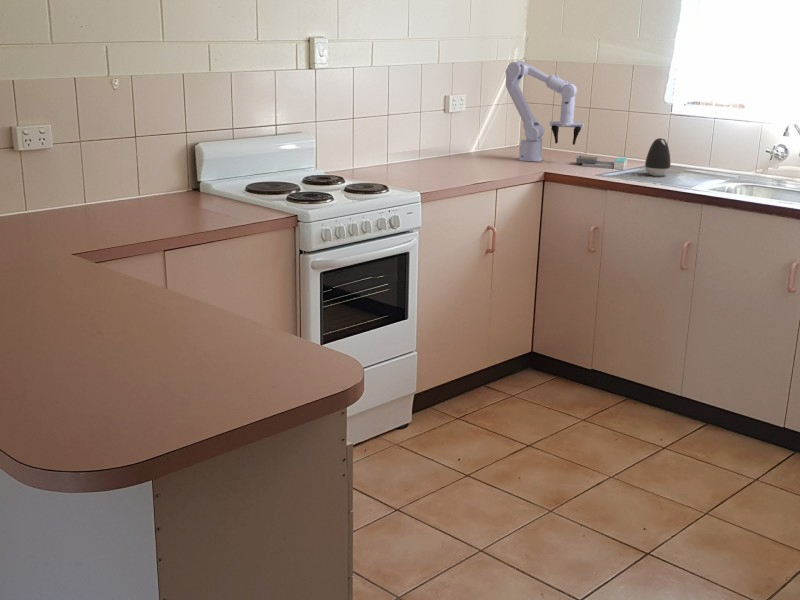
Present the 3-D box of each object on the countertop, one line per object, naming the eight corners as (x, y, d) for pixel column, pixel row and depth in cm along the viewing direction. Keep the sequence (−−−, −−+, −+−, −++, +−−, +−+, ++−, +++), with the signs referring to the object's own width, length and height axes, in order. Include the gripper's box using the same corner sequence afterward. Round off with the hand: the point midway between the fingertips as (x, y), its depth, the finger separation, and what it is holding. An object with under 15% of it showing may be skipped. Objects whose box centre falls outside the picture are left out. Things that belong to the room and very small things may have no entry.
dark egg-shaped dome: (672, 174, 386) (676, 138, 382) (665, 178, 378) (669, 140, 373) (648, 172, 392) (652, 135, 387) (640, 175, 383) (644, 138, 379)
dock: (582, 166, 402) (582, 159, 401) (586, 162, 413) (586, 155, 412) (623, 169, 397) (623, 162, 396) (626, 165, 407) (627, 158, 406)
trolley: (576, 165, 405) (576, 154, 404) (578, 162, 412) (579, 152, 410) (594, 166, 403) (595, 156, 401) (596, 164, 409) (597, 154, 408)
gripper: (549, 112, 402) (546, 143, 406) (582, 114, 398) (580, 146, 402) (552, 110, 409) (549, 141, 413) (585, 112, 404) (582, 144, 408)
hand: (565, 143), depth 408 cm, fingers open, 7 cm apart
